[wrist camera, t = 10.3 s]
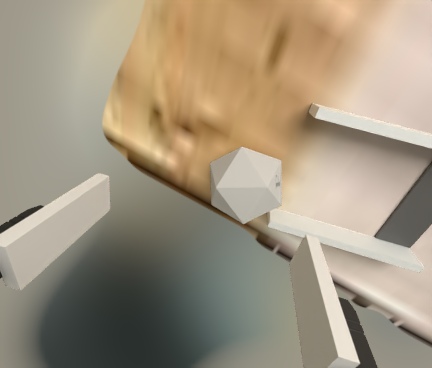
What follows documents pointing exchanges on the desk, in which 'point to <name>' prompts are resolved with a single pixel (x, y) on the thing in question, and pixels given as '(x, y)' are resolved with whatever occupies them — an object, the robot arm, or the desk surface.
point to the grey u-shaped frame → (395, 225)
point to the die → (246, 184)
